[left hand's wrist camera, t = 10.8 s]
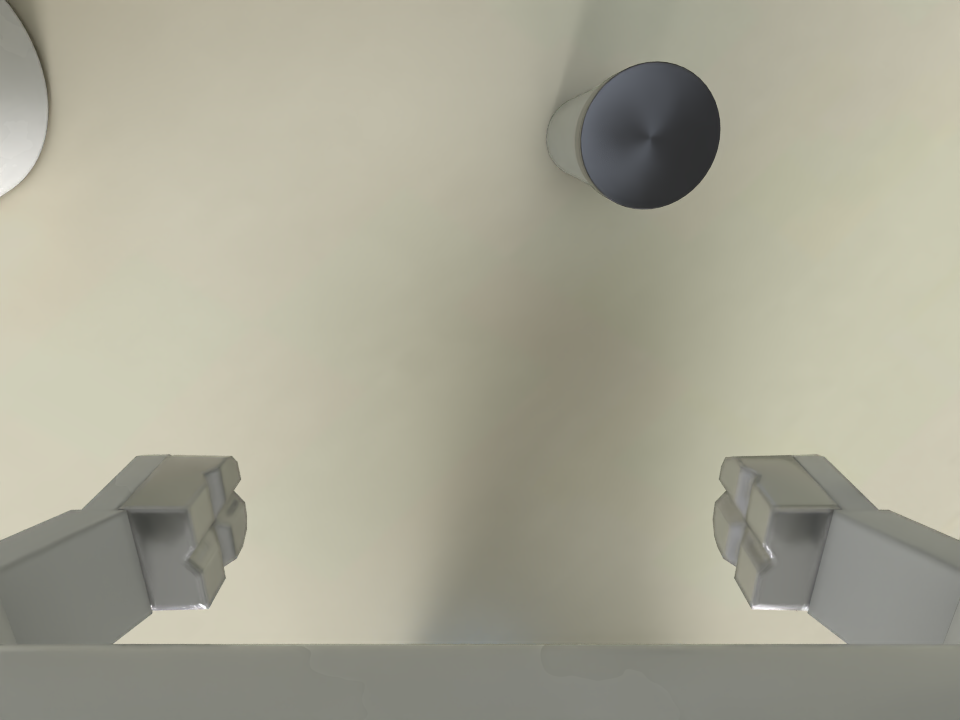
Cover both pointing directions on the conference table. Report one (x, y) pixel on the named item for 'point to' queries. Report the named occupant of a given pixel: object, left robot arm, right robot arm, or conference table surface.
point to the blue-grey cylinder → (566, 135)
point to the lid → (648, 135)
